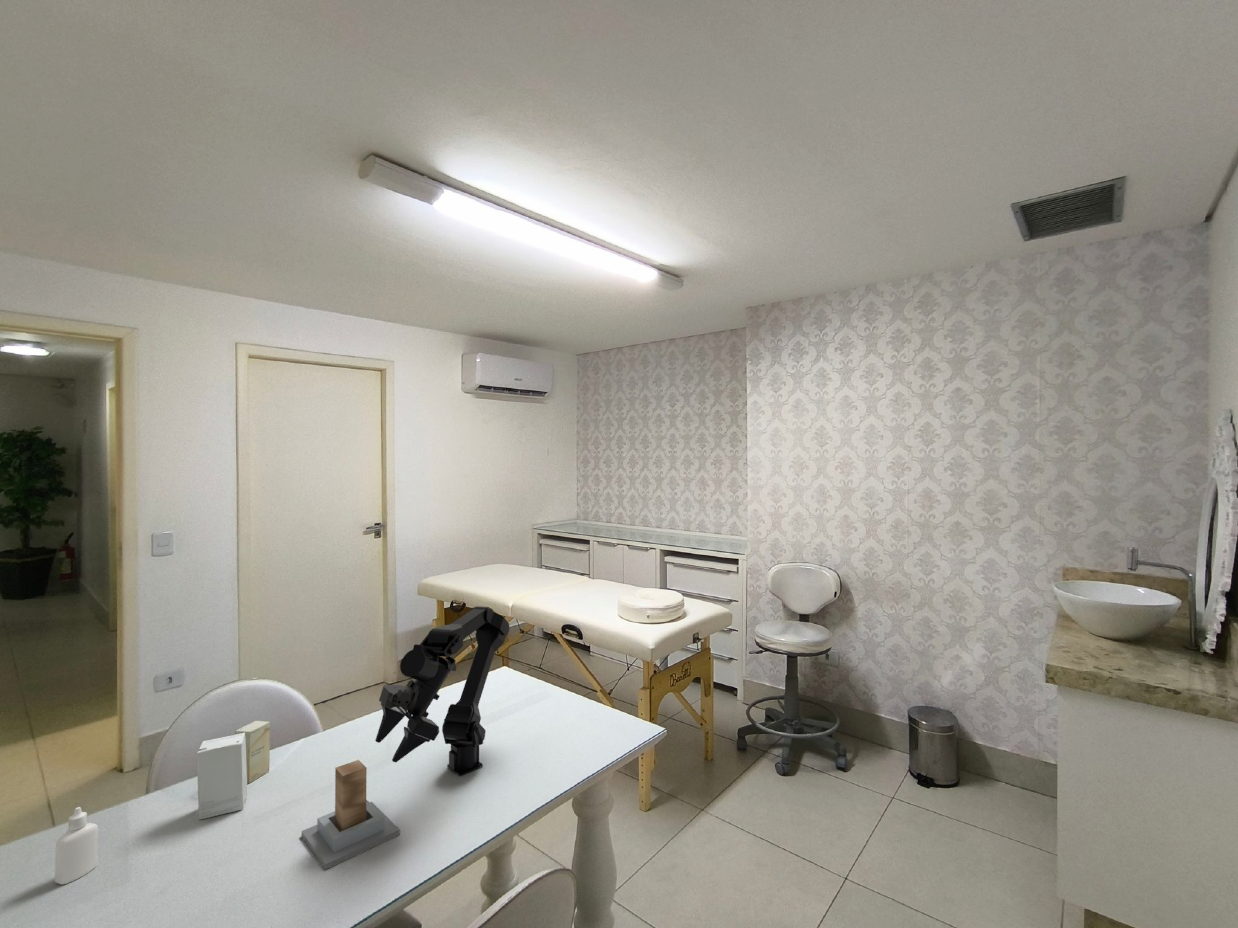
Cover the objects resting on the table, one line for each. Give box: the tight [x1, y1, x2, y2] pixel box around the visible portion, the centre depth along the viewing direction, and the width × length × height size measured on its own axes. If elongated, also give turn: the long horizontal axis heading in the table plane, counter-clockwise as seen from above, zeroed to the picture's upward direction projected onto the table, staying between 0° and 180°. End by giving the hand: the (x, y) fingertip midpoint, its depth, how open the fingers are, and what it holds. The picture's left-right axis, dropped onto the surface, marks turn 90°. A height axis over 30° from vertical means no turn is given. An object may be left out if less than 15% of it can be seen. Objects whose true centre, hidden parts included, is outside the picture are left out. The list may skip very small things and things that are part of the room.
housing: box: [300, 799, 401, 870], centre depth 112 cm, size 14×14×4 cm
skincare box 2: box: [234, 720, 271, 784], centre depth 135 cm, size 6×4×12 cm
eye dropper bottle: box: [54, 806, 99, 885], centre depth 102 cm, size 4×6×12 cm
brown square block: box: [334, 759, 368, 832], centre depth 112 cm, size 4×4×12 cm
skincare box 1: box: [196, 733, 248, 821], centre depth 122 cm, size 8×6×15 cm
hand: (385, 751), depth 120 cm, fingers open, 9 cm apart
